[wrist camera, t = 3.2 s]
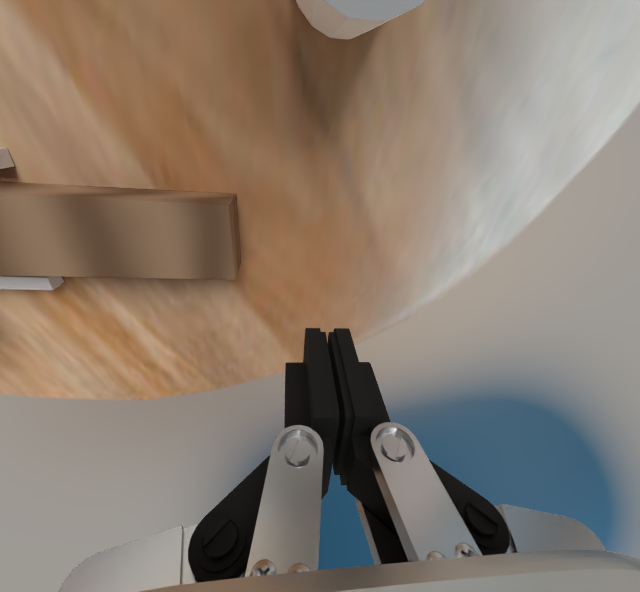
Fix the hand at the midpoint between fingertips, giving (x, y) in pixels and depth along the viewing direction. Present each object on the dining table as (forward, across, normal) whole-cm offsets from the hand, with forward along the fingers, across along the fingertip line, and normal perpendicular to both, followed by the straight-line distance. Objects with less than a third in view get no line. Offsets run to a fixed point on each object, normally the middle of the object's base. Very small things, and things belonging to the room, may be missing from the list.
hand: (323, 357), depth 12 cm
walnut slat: (+12, +13, -1) cm, 18 cm away
